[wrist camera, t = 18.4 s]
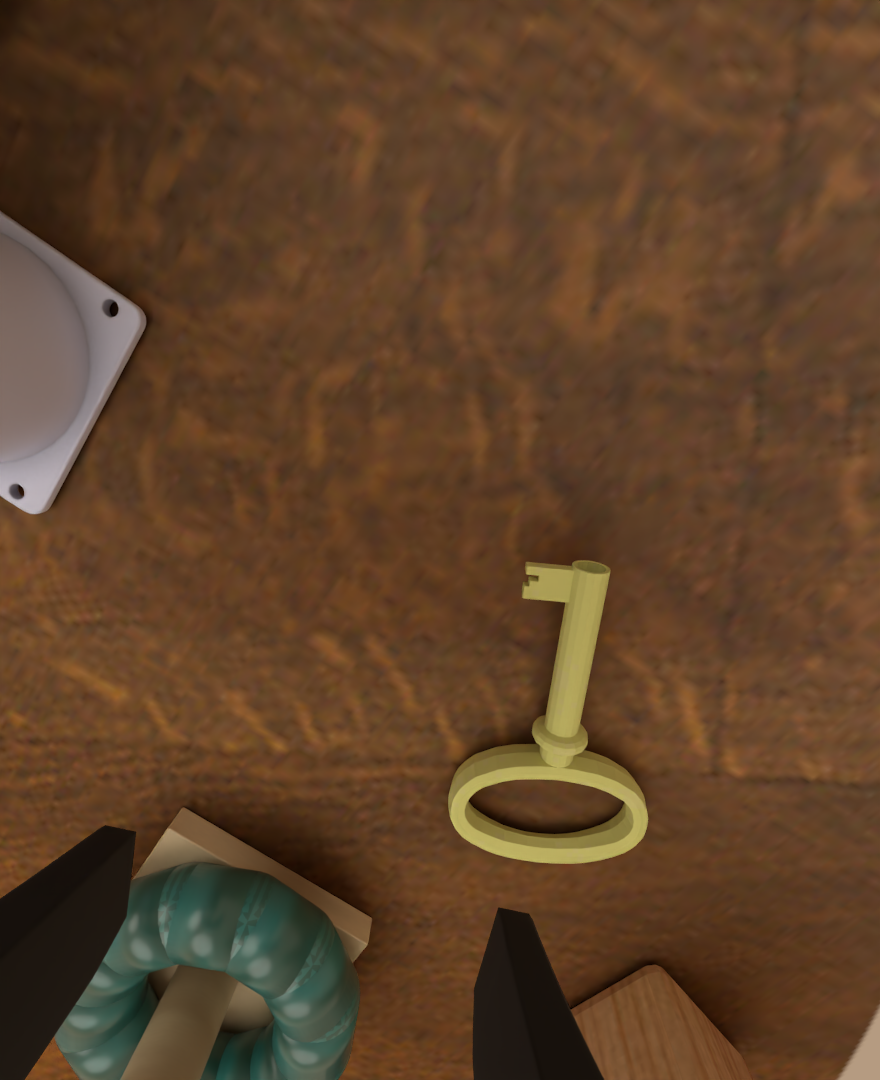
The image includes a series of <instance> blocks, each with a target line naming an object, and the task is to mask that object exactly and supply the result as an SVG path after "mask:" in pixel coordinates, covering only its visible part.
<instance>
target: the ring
mask: <svg viewBox="0 0 880 1080" xmlns="http://www.w3.org/2000/svg"><path fill="white" fill-rule="evenodd" d="M174 965H184V966H190V967H196V968H203V969H209V970H215V971H221V972H225V973H227V974H228V975H230V976H231V977H233V978H234V979H236V980H238V981H239V982H241V983H242V984H244V985H245V986H247V987H248V988H250V989H251V990H253V991H254V992H256V993H258V994H259V995H261V996H262V997H263V998H264V1000H265V1002H266V1004H267V1006H268V1007H269V1009H270V1011H271V1013H272V1015H273V1017H274V1018H275V1019H274V1020H273V1021H272V1022H271V1023H270V1024H269V1025H268V1026H265V1027H261V1028H257V1029H254V1030H250V1031H246V1032H242V1033H239V1034H235V1033H229V1032H223V1031H219V1033H218V1035H217V1038H216V1040H215V1043H214V1045H213V1048H212V1051H211V1053H210V1056H209V1058H208V1061H207V1064H206V1066H205V1069H204V1071H203V1074H202V1076H201V1079H200V1080H338V1079H339V1078H340V1076H341V1075H342V1073H343V1071H344V1070H345V1067H346V1065H347V1063H348V1060H349V1057H350V1054H351V1050H352V1044H353V1038H354V1032H355V1026H356V1020H357V1015H358V1009H359V1002H360V984H359V978H358V975H357V972H356V969H355V967H354V965H353V963H352V961H351V959H350V957H349V955H348V953H347V951H346V949H345V947H344V945H343V943H342V941H341V939H340V937H339V935H338V933H337V931H336V929H335V927H334V925H333V923H332V921H331V920H330V918H329V917H328V916H327V914H326V913H325V912H324V911H323V910H321V909H320V908H319V907H317V906H316V905H315V904H313V903H312V902H310V901H309V900H307V899H306V898H304V897H303V896H301V895H300V894H298V893H297V892H296V891H294V890H293V889H291V888H290V887H288V886H287V885H285V884H284V883H282V882H281V881H279V880H278V879H277V878H275V877H273V876H272V875H270V874H268V873H264V872H261V871H255V870H249V869H243V868H237V867H231V866H225V865H219V864H213V863H207V862H196V861H195V862H189V863H184V864H181V865H177V866H174V867H171V868H168V869H164V870H161V871H158V872H155V873H152V874H148V875H145V876H142V877H139V878H135V879H132V880H131V882H130V891H129V900H128V909H127V917H126V919H125V921H124V922H123V924H122V926H121V928H120V930H119V932H118V934H117V935H116V937H115V939H114V941H113V943H112V945H111V947H110V949H109V950H108V952H107V954H106V956H105V957H104V959H103V961H102V963H101V965H100V966H99V968H98V970H97V972H96V973H95V975H94V977H93V979H92V980H91V982H90V983H89V985H88V986H87V988H86V989H85V991H84V992H83V994H82V995H81V997H80V998H79V1000H78V1001H77V1003H76V1004H75V1006H74V1007H73V1009H72V1010H71V1012H70V1013H69V1015H68V1016H67V1018H66V1019H65V1021H64V1022H63V1024H62V1025H61V1027H60V1028H59V1030H58V1031H57V1033H56V1034H55V1035H54V1037H55V1041H56V1043H57V1046H58V1047H59V1049H60V1051H61V1052H62V1054H63V1055H64V1057H65V1058H66V1060H67V1061H68V1063H69V1064H70V1066H71V1067H72V1069H73V1070H74V1072H75V1073H76V1075H77V1076H78V1078H79V1079H80V1080H120V1079H121V1077H122V1075H123V1073H124V1071H125V1069H126V1067H127V1065H128V1063H129V1061H130V1059H131V1057H132V1055H133V1053H134V1051H135V1049H136V1047H137V1045H138V1043H139V1041H140V1040H141V1038H142V1036H143V1034H144V1032H145V1030H146V1028H147V1026H148V1024H149V1022H150V1020H151V1018H152V1016H153V1014H154V1012H155V1010H156V1008H157V1006H158V1004H159V1002H160V1000H159V998H158V997H157V995H156V993H155V992H154V990H153V988H152V987H151V985H150V983H149V982H148V974H149V973H150V972H153V971H157V970H160V969H164V968H167V967H171V966H174Z"/></svg>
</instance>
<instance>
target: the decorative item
mask: <svg viewBox="0 0 880 1080" xmlns="http://www.w3.org/2000/svg"><path fill="white" fill-rule="evenodd" d="M571 1012H572V1014H573V1016H574V1018H575V1020H576V1022H577V1025H578V1027H579V1029H580V1031H581V1033H582V1035H583V1037H584V1039H585V1041H586V1044H587V1046H588V1048H589V1050H590V1052H591V1054H592V1056H593V1058H594V1060H595V1062H596V1064H597V1066H598V1068H599V1070H600V1072H601V1074H602V1076H603V1078H604V1080H753V1079H752V1076H751V1074H750V1072H749V1070H748V1067H747V1065H746V1063H745V1061H744V1058H743V1057H742V1056H741V1055H740V1054H739V1053H738V1051H737V1050H736V1049H735V1048H734V1047H733V1046H732V1045H731V1044H730V1043H729V1041H728V1040H727V1039H726V1038H725V1037H724V1036H723V1035H722V1034H721V1032H720V1031H719V1030H718V1029H717V1028H716V1027H715V1026H714V1025H713V1024H712V1022H711V1021H710V1020H709V1019H708V1018H707V1017H706V1016H705V1015H704V1014H703V1012H702V1011H701V1010H700V1009H699V1008H698V1007H697V1006H696V1005H695V1003H694V1002H693V1001H692V1000H691V999H690V998H689V997H688V996H687V995H686V993H685V992H684V991H683V990H682V989H681V988H680V987H679V986H678V984H677V983H676V982H675V981H674V980H673V979H672V978H671V977H670V976H669V974H668V973H667V972H666V971H665V970H664V969H663V968H662V967H660V966H658V965H648V966H645V967H643V968H641V969H640V970H638V971H636V972H635V973H633V974H631V975H629V976H628V977H626V978H624V979H623V980H621V981H619V982H617V983H616V984H614V985H612V986H611V987H609V988H607V989H605V990H604V991H602V992H600V993H599V994H597V995H595V996H593V997H592V998H590V999H588V1000H587V1001H585V1002H583V1003H581V1004H580V1005H578V1006H576V1007H575V1008H573V1009H571Z"/></svg>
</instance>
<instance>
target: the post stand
mask: <svg viewBox="0 0 880 1080" xmlns="http://www.w3.org/2000/svg"><path fill="white" fill-rule="evenodd" d="M195 861H196V862H207V863H213V864H219V865H225V866H231V867H237V868H243V869H249V870H255V871H261V872H264V873H268V874H270V875H272V876H273V877H275V878H277V879H278V880H279V881H281V882H282V883H284V884H285V885H287V886H288V887H290V888H291V889H293V890H294V891H296V892H297V893H298V894H300V895H301V896H303V897H304V898H306V899H307V900H309V901H310V902H312V903H313V904H315V905H316V906H317V907H319V908H320V909H321V910H323V911H324V912H325V913H326V914H327V916H328V917H329V918H330V920H331V921H332V923H333V925H334V927H335V929H336V931H337V933H338V935H339V937H340V939H341V941H342V943H343V945H344V947H345V949H346V951H347V953H348V955H349V957H350V959H351V961H352V963H353V962H354V961H355V959H356V958H357V957H358V956H359V955H360V953H361V952H362V951H363V950H364V949H365V947H366V946H367V945H368V941H369V935H370V929H371V923H372V918H371V917H369V916H368V915H366V914H364V913H363V912H361V911H359V910H357V909H356V908H354V907H352V906H351V905H349V904H347V903H346V902H344V901H342V900H340V899H339V898H337V897H335V896H334V895H332V894H330V893H329V892H327V891H325V890H323V889H322V888H320V887H318V886H317V885H315V884H313V883H312V882H310V881H308V880H307V879H305V878H303V877H301V876H300V875H298V874H296V873H295V872H293V871H291V870H290V869H288V868H286V867H284V866H283V865H281V864H279V863H278V862H276V861H274V860H273V859H271V858H269V857H267V856H266V855H264V854H262V853H261V852H259V851H257V850H256V849H254V848H252V847H251V846H249V845H247V844H245V843H244V842H242V841H240V840H239V839H237V838H235V837H234V836H232V835H230V834H228V833H227V832H225V831H223V830H222V829H220V828H218V827H217V826H215V825H213V824H211V823H210V822H208V821H206V820H205V819H203V818H201V817H200V816H198V815H196V814H195V813H193V812H191V811H189V810H188V809H186V808H184V807H183V808H181V810H180V811H179V813H178V814H177V815H176V817H175V818H174V820H173V821H172V823H171V824H170V825H169V827H168V828H167V830H166V831H165V833H164V834H163V836H162V837H161V839H160V840H159V841H158V843H157V844H156V846H155V847H154V849H153V850H152V852H151V853H150V855H149V856H148V858H147V859H146V861H145V862H144V864H143V865H142V867H141V868H140V869H139V871H138V872H137V874H136V875H135V877H134V878H133V879H135V878H139V877H142V876H145V875H148V874H152V873H155V872H158V871H161V870H164V869H168V868H171V867H174V866H177V865H181V864H184V863H189V862H195ZM148 982H149V983H150V985H151V987H152V988H153V990H154V992H155V993H156V995H157V997H158V998H159V1000H160V1002H159V1004H158V1006H157V1008H156V1010H155V1012H154V1014H153V1016H152V1018H151V1020H150V1022H149V1024H148V1026H147V1028H146V1030H145V1032H144V1034H143V1036H142V1038H141V1040H140V1041H139V1043H138V1045H137V1047H136V1049H135V1051H134V1053H133V1055H132V1057H131V1059H130V1061H129V1063H128V1065H127V1067H126V1069H125V1071H124V1073H123V1075H122V1077H121V1079H120V1080H200V1079H201V1076H202V1074H203V1071H204V1069H205V1066H206V1064H207V1061H208V1058H209V1056H210V1053H211V1051H212V1048H213V1045H214V1043H215V1040H216V1038H217V1035H218V1033H219V1031H223V1032H229V1033H235V1034H239V1033H242V1032H246V1031H250V1030H254V1029H257V1028H261V1027H265V1026H268V1025H269V1024H270V1023H271V1022H272V1021H273V1020H274V1019H275V1018H274V1017H273V1015H272V1013H271V1011H270V1009H269V1007H268V1006H267V1004H266V1002H265V1000H264V998H263V997H262V996H261V995H259V994H258V993H256V992H254V991H253V990H251V989H250V988H248V987H247V986H245V985H244V984H242V983H241V982H239V981H238V980H236V979H234V978H233V977H231V976H230V975H228V974H227V973H225V972H221V971H215V970H209V969H203V968H196V967H190V966H184V965H174V966H171V967H167V968H164V969H160V970H157V971H153V972H150V973H149V974H148Z"/></svg>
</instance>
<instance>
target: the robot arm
mask: <svg viewBox="0 0 880 1080" xmlns="http://www.w3.org/2000/svg"><path fill="white" fill-rule="evenodd" d="M113 302H116V303H117V304H118V308H119V310H118V314H117V315H116V316H115V317H113V316H112V315H111V313H110V305H111V304H112V303H113ZM145 326H146V316H145V314H144V312H143V310H142V309H141V308H140V307H139V306H137V305H136V304H135V303H133V302H132V301H130V300H129V299H127V298H126V297H124V296H123V295H122V294H120V293H119V292H117V291H116V290H114V289H113V288H111V287H110V286H108V285H107V284H106V283H104V282H103V281H101V280H100V279H98V278H97V277H95V276H94V275H92V274H91V273H90V272H88V271H87V270H85V269H84V268H82V267H81V266H79V265H78V264H77V263H75V262H74V261H72V260H71V259H69V258H68V257H66V256H65V255H63V254H62V253H61V252H59V251H58V250H56V249H55V248H53V247H52V246H50V245H49V244H47V243H46V242H45V241H43V240H42V239H40V238H39V237H37V236H36V235H34V234H33V233H32V232H30V231H29V230H27V229H26V228H24V227H23V226H21V225H20V224H18V223H17V222H16V221H14V220H13V219H11V218H10V217H8V216H7V215H5V214H4V213H2V212H1V211H0V496H1V497H2V498H4V499H5V500H7V501H9V502H10V503H12V504H13V505H15V506H17V507H18V508H20V509H21V510H23V511H25V512H27V513H29V514H39V513H43V512H45V511H47V510H48V509H49V508H50V507H51V505H52V503H53V501H54V500H55V498H56V496H57V494H58V492H59V490H60V488H61V486H62V484H63V483H64V481H65V479H66V477H67V475H68V473H69V471H70V469H71V467H72V465H73V464H74V462H75V460H76V458H77V456H78V454H79V452H80V450H81V448H82V447H83V445H84V443H85V441H86V439H87V437H88V435H89V433H90V431H91V430H92V428H93V426H94V424H95V422H96V420H97V418H98V416H99V414H100V413H101V411H102V409H103V407H104V405H105V403H106V401H107V399H108V397H109V396H110V394H111V392H112V390H113V388H114V386H115V384H116V382H117V380H118V379H119V377H120V375H121V373H122V371H123V369H124V367H125V365H126V363H127V362H128V360H129V358H130V356H131V354H132V352H133V350H134V348H135V346H136V345H137V343H138V341H139V339H140V337H141V335H142V333H143V331H144V329H145ZM19 485H20V486H21V487H22V488H23V489H24V492H25V493H24V497H23V496H22V495H21V494H20V493H19V491H18V486H19ZM135 837H136V832H134V831H130V830H125V829H120V828H115V827H110V826H106V825H105V826H103V827H102V828H100V829H98V830H97V831H96V832H94V833H93V834H91V835H90V836H88V837H87V838H86V839H84V840H83V841H81V842H80V843H79V844H77V845H76V846H74V847H73V848H72V849H70V850H69V851H68V852H66V853H65V854H63V855H62V856H61V857H59V858H58V859H56V860H55V861H54V862H52V863H51V864H49V865H48V866H47V867H45V868H44V869H42V870H41V871H39V872H38V873H37V874H35V875H34V876H32V877H31V878H29V879H28V880H27V881H25V882H24V883H22V884H21V885H19V886H18V887H16V888H15V889H14V890H12V891H11V892H9V893H8V894H6V895H5V896H3V897H2V898H0V1080H25V1078H26V1077H27V1075H28V1074H29V1072H30V1071H31V1069H32V1068H33V1066H34V1065H35V1063H36V1062H37V1061H38V1059H39V1058H40V1056H41V1055H42V1053H43V1052H44V1050H45V1049H46V1047H47V1046H48V1044H49V1043H50V1041H51V1040H52V1038H53V1037H54V1035H55V1034H56V1033H57V1031H58V1030H59V1028H60V1027H61V1025H62V1024H63V1022H64V1021H65V1019H66V1018H67V1016H68V1015H69V1013H70V1012H71V1010H72V1009H73V1007H74V1006H75V1004H76V1003H77V1001H78V1000H79V998H80V997H81V995H82V994H83V992H84V991H85V989H86V988H87V986H88V985H89V983H90V982H91V980H92V979H93V977H94V975H95V973H96V972H97V970H98V968H99V966H100V965H101V963H102V961H103V959H104V957H105V956H106V954H107V952H108V950H109V949H110V947H111V945H112V943H113V941H114V939H115V937H116V935H117V934H118V932H119V930H120V928H121V926H122V924H123V922H124V921H125V919H126V917H127V909H128V900H129V891H130V882H131V873H132V864H133V855H134V846H135ZM473 1071H474V1080H604V1078H603V1076H602V1074H601V1072H600V1070H599V1068H598V1066H597V1064H596V1062H595V1060H594V1058H593V1056H592V1054H591V1052H590V1050H589V1048H588V1046H587V1044H586V1041H585V1039H584V1037H583V1035H582V1033H581V1031H580V1029H579V1027H578V1025H577V1022H576V1020H575V1018H574V1016H573V1014H572V1012H571V1010H570V1008H569V1005H568V1003H567V1001H566V999H565V996H564V994H563V992H562V990H561V987H560V985H559V983H558V981H557V978H556V976H555V974H554V971H553V969H552V967H551V964H550V962H549V959H548V957H547V955H546V952H545V950H544V947H543V945H542V942H541V940H540V937H539V935H538V932H537V930H536V927H535V925H534V922H533V920H532V918H531V917H530V915H529V914H527V913H522V912H518V911H513V910H508V909H503V908H498V911H497V914H496V917H495V921H494V924H493V927H492V931H491V934H490V937H489V941H488V944H487V947H486V951H485V954H484V957H483V961H482V964H481V967H480V971H479V974H478V977H477V981H476V984H475V987H474V1014H473Z"/></svg>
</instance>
